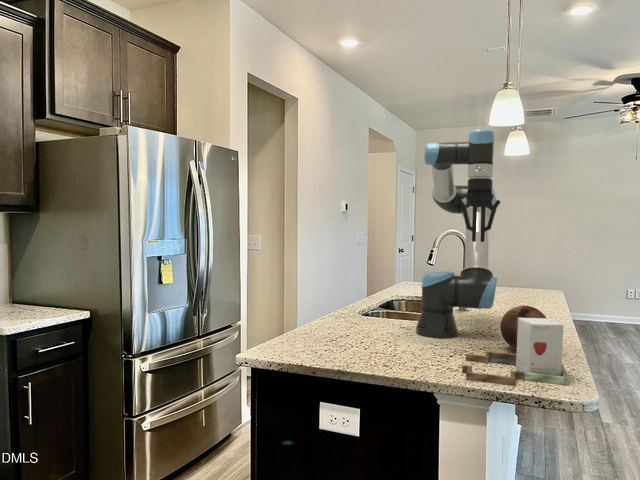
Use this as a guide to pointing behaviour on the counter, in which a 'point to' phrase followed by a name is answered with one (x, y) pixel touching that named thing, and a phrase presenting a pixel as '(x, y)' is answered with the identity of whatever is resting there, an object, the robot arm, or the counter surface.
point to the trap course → (511, 360)
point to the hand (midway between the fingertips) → (477, 252)
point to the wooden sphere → (516, 322)
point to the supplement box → (539, 346)
